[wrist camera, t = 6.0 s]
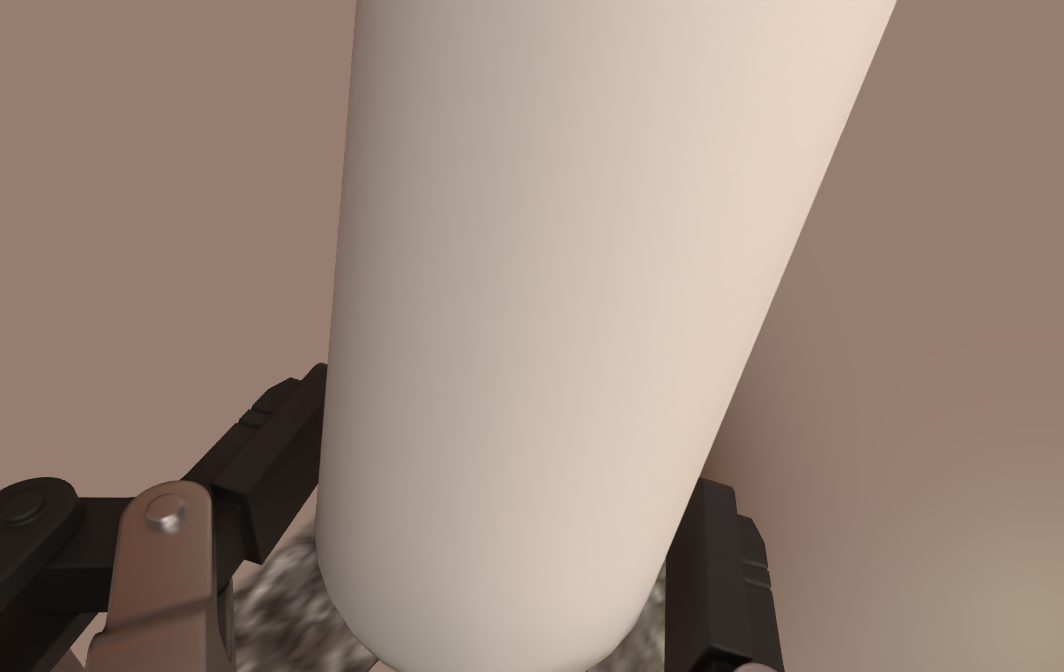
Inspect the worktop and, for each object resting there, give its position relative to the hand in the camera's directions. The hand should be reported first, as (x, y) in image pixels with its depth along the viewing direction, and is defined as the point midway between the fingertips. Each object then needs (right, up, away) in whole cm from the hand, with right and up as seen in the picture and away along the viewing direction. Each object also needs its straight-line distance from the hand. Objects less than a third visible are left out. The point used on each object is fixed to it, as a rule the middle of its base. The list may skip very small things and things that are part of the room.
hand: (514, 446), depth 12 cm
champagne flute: (-3, -11, +6) cm, 13 cm away
